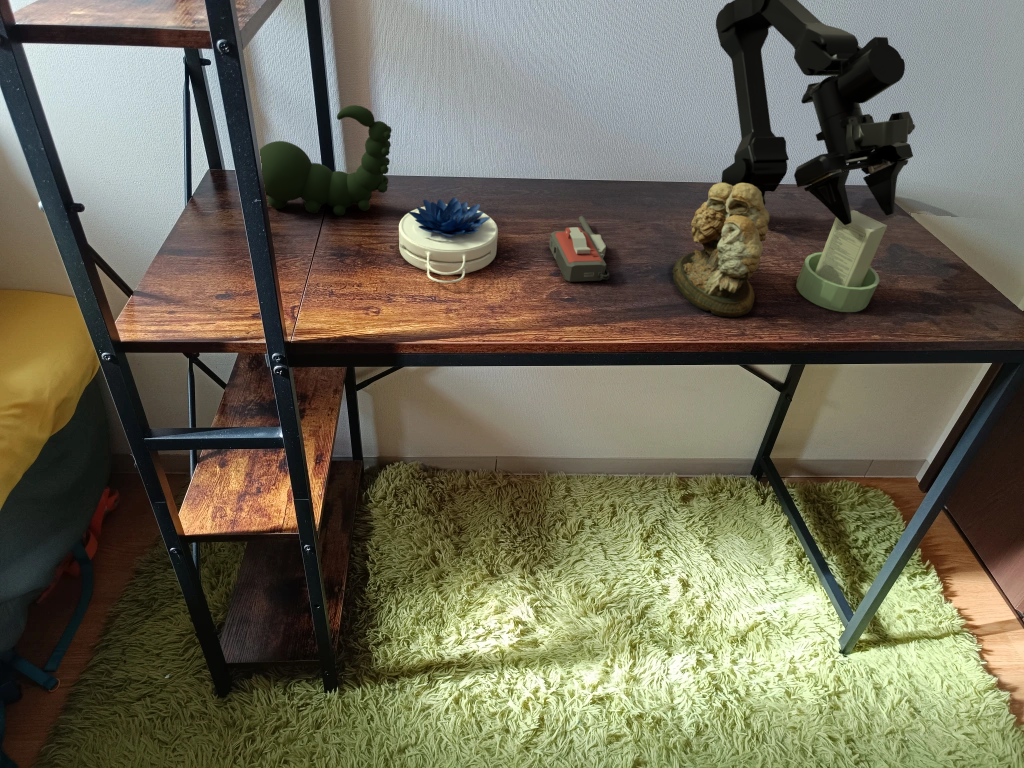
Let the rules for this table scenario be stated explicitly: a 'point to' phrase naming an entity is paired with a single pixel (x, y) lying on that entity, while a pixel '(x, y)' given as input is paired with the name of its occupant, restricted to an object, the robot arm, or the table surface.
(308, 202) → the toy figurine
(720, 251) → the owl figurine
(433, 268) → the white round gift box
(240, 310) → the table surface
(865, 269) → the cosmetic box
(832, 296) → the dish
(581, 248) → the walkie-talkie
